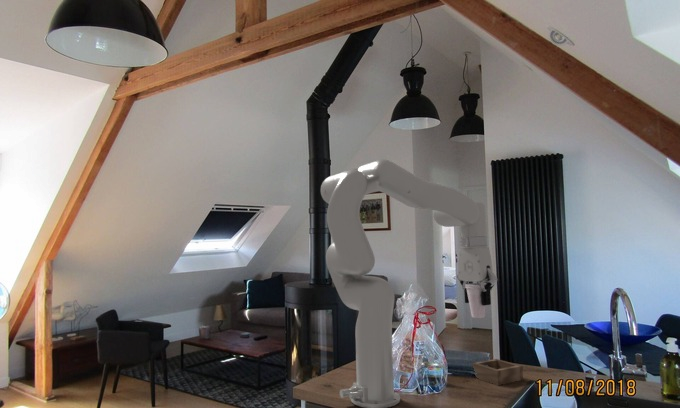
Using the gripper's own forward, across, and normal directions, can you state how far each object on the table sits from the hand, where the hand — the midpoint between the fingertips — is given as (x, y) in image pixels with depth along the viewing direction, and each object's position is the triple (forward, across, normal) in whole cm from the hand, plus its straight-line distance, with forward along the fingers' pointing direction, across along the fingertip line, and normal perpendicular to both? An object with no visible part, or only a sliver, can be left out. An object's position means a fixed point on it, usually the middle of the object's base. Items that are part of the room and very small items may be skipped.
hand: (477, 303), depth 139 cm
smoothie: (+4, 0, 0) cm, 4 cm away
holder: (+22, +2, +4) cm, 23 cm away
